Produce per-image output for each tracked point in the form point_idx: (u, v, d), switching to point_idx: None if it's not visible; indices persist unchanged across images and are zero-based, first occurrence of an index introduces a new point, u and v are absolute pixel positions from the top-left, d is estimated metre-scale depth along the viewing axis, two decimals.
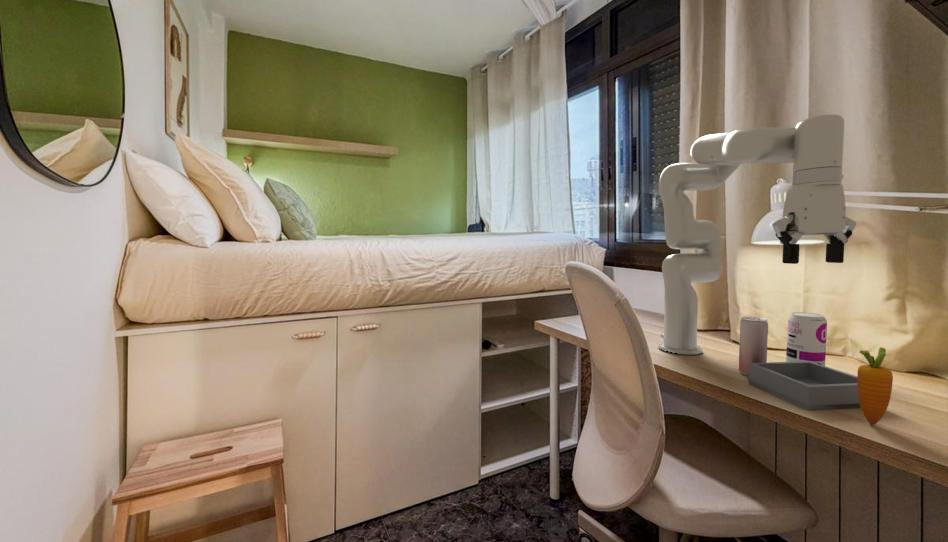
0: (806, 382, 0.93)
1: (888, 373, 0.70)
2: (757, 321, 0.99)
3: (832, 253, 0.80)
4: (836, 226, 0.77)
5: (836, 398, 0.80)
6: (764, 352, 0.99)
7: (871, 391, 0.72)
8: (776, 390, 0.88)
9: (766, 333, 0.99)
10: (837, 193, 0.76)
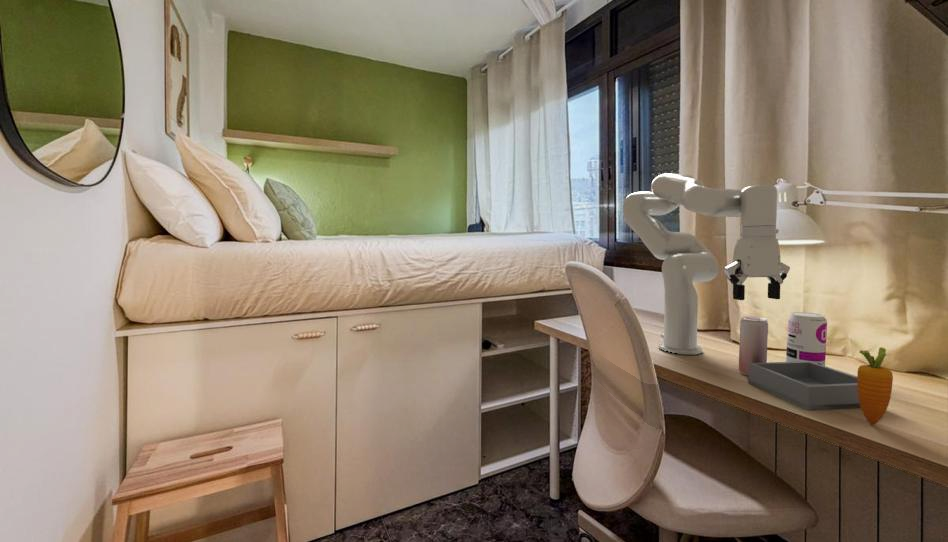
0: (806, 382, 0.93)
1: (888, 373, 0.70)
2: (757, 321, 0.99)
3: (772, 291, 1.01)
4: (773, 270, 0.98)
5: (836, 398, 0.80)
6: (764, 352, 0.99)
7: (871, 391, 0.72)
8: (776, 390, 0.88)
9: (766, 333, 0.99)
10: (773, 245, 0.97)
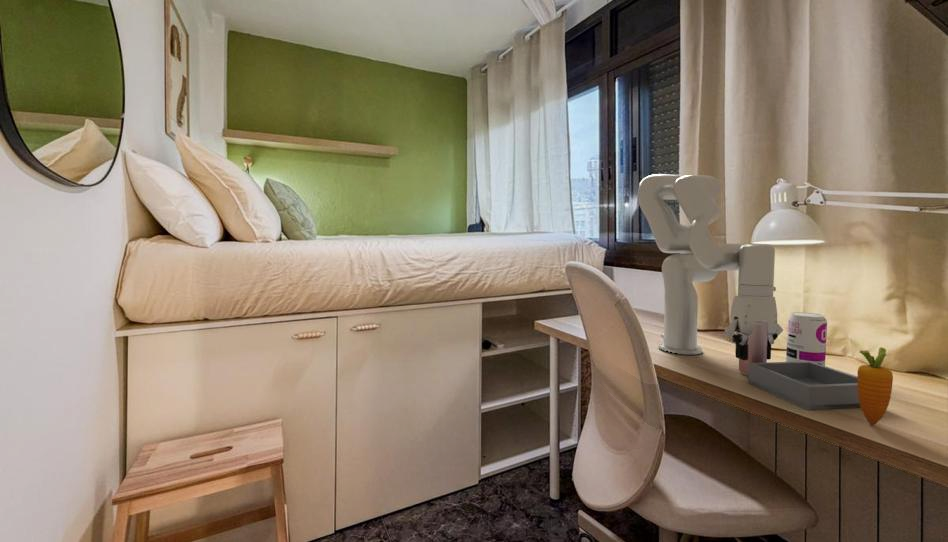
0: (806, 382, 0.93)
1: (888, 373, 0.70)
2: (757, 321, 0.99)
3: None
4: (769, 328, 0.99)
5: (836, 398, 0.80)
6: (764, 352, 0.99)
7: (871, 391, 0.72)
8: (776, 390, 0.88)
9: (766, 333, 0.99)
10: (770, 304, 0.99)
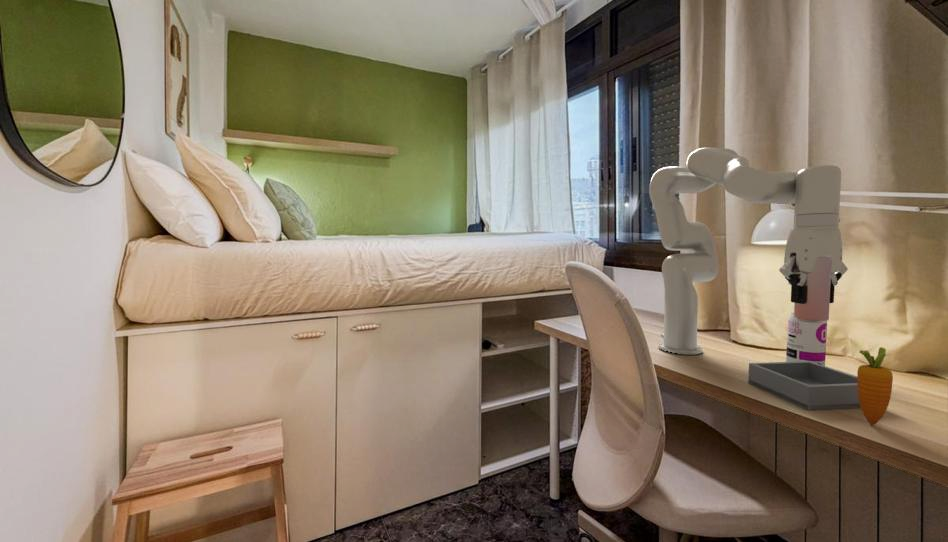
0: (806, 382, 0.93)
1: (888, 373, 0.71)
2: (819, 256, 0.84)
3: None
4: (833, 266, 0.84)
5: (836, 398, 0.80)
6: (827, 293, 0.84)
7: (871, 391, 0.72)
8: (776, 390, 0.88)
9: (830, 271, 0.84)
10: (834, 236, 0.84)
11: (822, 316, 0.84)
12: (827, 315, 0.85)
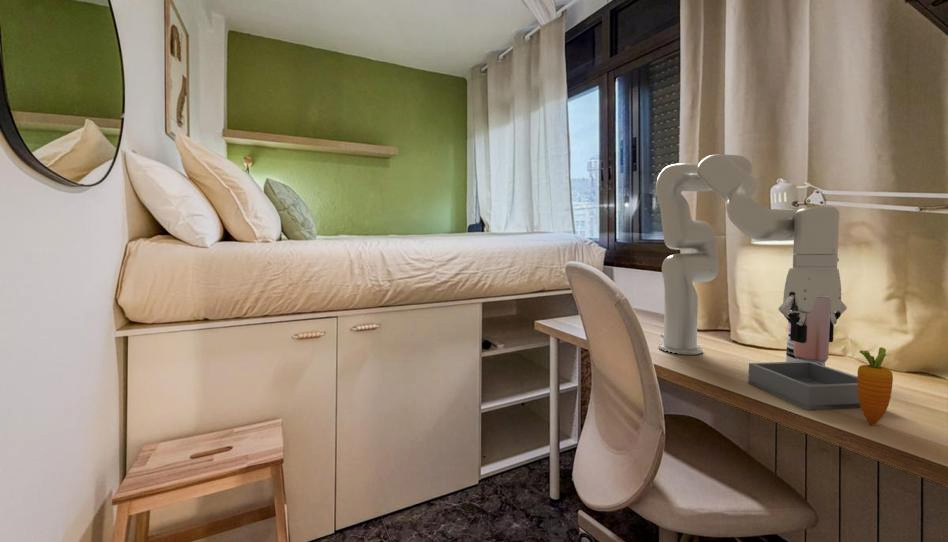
0: (806, 382, 0.93)
1: (888, 373, 0.70)
2: (818, 296, 0.84)
3: None
4: (832, 305, 0.85)
5: (836, 398, 0.80)
6: (827, 333, 0.84)
7: (871, 391, 0.72)
8: (776, 390, 0.88)
9: (829, 311, 0.84)
10: (833, 276, 0.84)
11: (821, 356, 0.85)
12: (827, 355, 0.85)
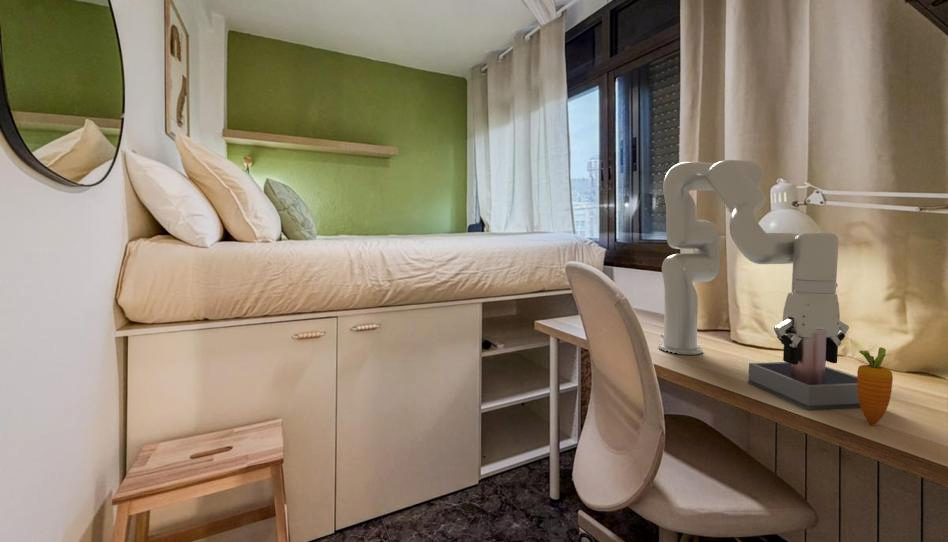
0: None
1: (888, 373, 0.70)
2: None
3: (827, 353, 0.88)
4: (831, 331, 0.85)
5: (836, 398, 0.80)
6: (823, 364, 0.85)
7: (871, 391, 0.72)
8: (776, 390, 0.88)
9: (825, 342, 0.85)
10: (832, 302, 0.85)
11: None
12: None
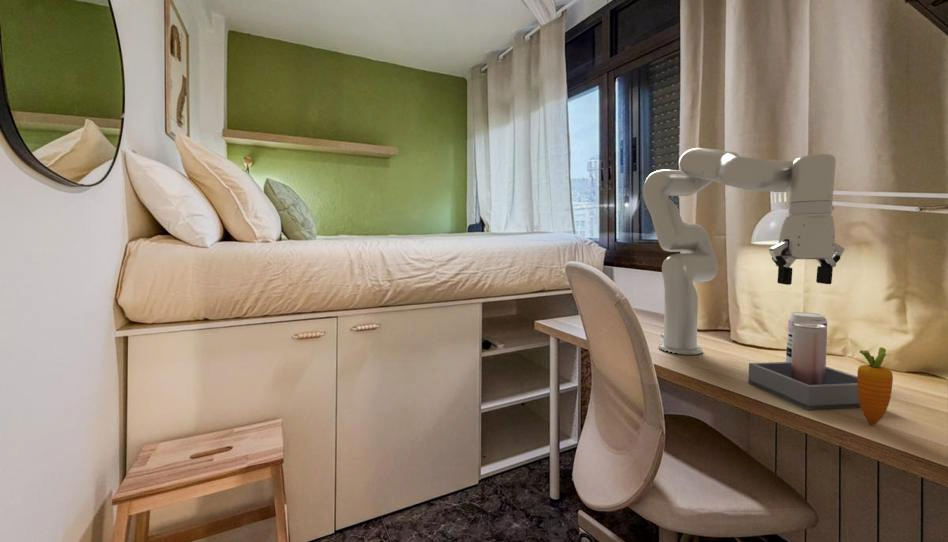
0: None
1: (888, 373, 0.71)
2: (815, 328, 0.85)
3: (822, 275, 0.90)
4: (825, 252, 0.87)
5: (836, 398, 0.80)
6: (824, 364, 0.85)
7: (871, 391, 0.72)
8: (776, 390, 0.88)
9: (825, 342, 0.85)
10: (827, 223, 0.86)
11: None
12: None
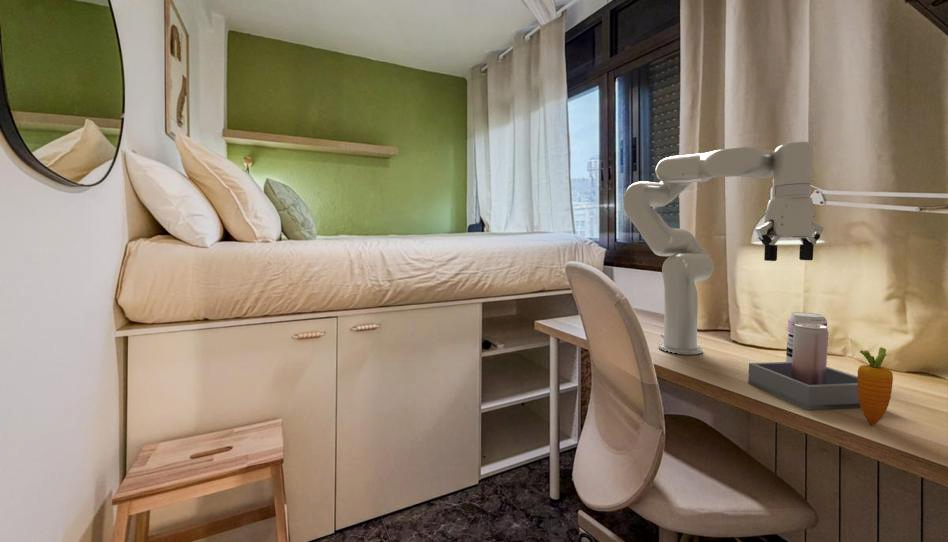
0: None
1: (888, 373, 0.70)
2: (817, 329, 0.85)
3: (804, 252, 0.99)
4: (806, 230, 0.96)
5: (836, 398, 0.80)
6: (824, 364, 0.85)
7: (871, 391, 0.72)
8: (776, 390, 0.88)
9: (827, 343, 0.85)
10: (807, 204, 0.95)
11: None
12: None
